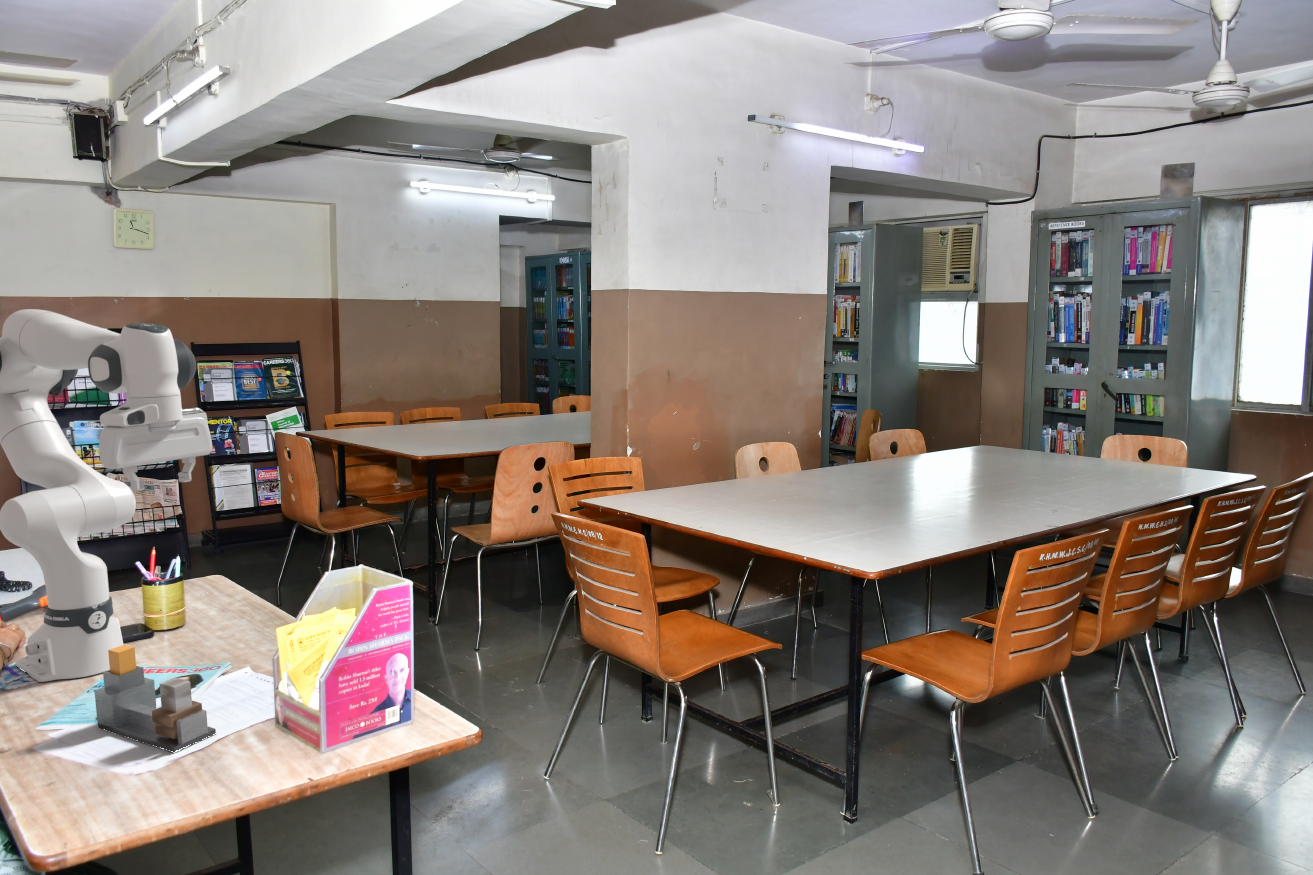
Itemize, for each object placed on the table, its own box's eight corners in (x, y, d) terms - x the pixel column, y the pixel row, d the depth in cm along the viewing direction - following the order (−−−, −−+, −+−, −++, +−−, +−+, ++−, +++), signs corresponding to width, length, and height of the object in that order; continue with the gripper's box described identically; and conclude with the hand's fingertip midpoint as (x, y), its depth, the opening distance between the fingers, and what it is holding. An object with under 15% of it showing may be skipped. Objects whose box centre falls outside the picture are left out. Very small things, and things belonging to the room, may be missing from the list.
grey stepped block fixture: (97, 727, 168) (92, 674, 166) (140, 710, 175) (135, 659, 173) (174, 753, 158) (169, 696, 156) (215, 733, 165) (211, 680, 163)
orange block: (110, 676, 168) (108, 649, 167) (126, 670, 171) (124, 644, 170) (120, 679, 167) (118, 652, 166) (136, 673, 169) (134, 647, 169)
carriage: (153, 734, 162) (149, 685, 160) (185, 720, 167) (181, 673, 166) (172, 740, 159) (168, 691, 158) (203, 726, 164) (199, 678, 163)
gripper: (194, 406, 181) (200, 476, 183) (90, 417, 163) (98, 494, 165) (216, 406, 178) (222, 477, 180) (112, 418, 160) (120, 496, 162)
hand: (162, 485), depth 172 cm, fingers open, 8 cm apart
